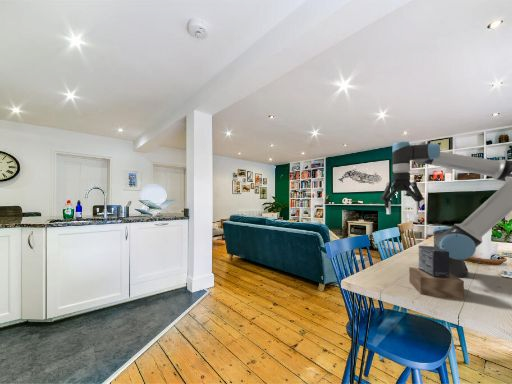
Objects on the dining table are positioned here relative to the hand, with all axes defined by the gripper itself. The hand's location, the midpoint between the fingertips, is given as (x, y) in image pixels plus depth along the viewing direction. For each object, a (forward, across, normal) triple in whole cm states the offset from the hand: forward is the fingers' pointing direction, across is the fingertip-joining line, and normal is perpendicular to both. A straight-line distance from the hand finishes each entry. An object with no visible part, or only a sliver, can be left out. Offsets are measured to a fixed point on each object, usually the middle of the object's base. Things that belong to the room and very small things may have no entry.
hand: (402, 214), depth 118 cm
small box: (+23, 0, +20) cm, 31 cm away
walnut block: (+30, 0, +21) cm, 37 cm away
